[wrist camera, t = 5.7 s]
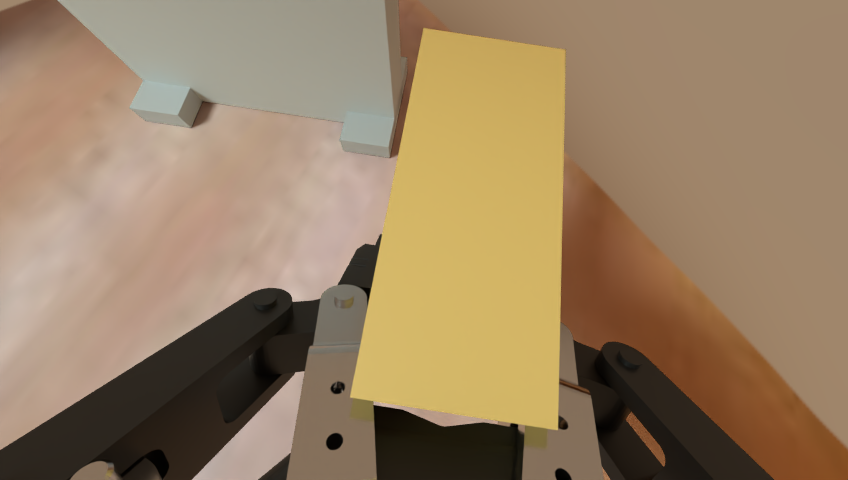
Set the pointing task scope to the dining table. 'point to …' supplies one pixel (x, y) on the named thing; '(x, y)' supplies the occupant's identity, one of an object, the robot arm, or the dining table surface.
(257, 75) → the wall board
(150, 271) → the dining table surface
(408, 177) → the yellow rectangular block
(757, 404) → the dining table surface
